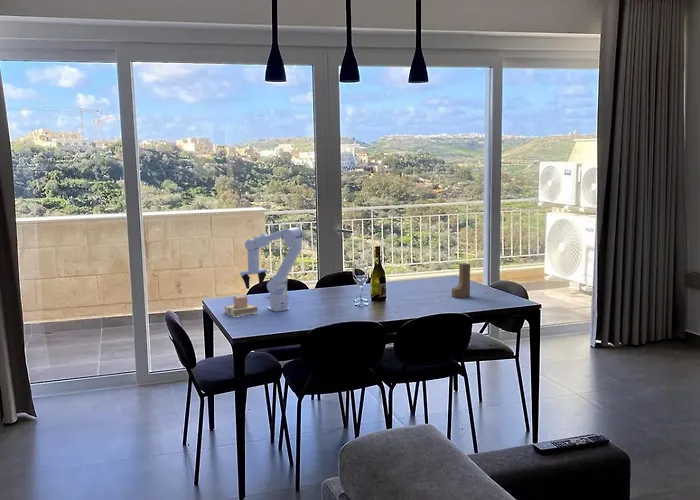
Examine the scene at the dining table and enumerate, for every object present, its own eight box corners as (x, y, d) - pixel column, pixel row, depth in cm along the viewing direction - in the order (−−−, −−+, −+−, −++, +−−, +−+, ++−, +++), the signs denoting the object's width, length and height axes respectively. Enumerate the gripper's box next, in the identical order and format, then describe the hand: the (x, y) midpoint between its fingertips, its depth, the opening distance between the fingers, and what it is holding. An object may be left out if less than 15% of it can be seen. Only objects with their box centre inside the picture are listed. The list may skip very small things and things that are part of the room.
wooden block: (455, 298, 364) (455, 265, 361) (451, 296, 368) (451, 264, 365) (470, 296, 367) (470, 264, 364) (466, 295, 371) (466, 262, 368)
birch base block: (257, 314, 336) (257, 307, 335) (235, 318, 329) (235, 310, 328) (246, 310, 345) (246, 302, 345) (225, 313, 339) (224, 306, 338)
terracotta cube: (247, 306, 336) (247, 296, 335) (238, 308, 333) (238, 298, 332) (242, 304, 340) (242, 295, 339) (233, 306, 337) (233, 296, 336)
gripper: (262, 259, 356) (262, 284, 358) (237, 262, 347) (238, 288, 349) (268, 261, 350) (269, 286, 352) (243, 264, 342) (244, 290, 344)
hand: (254, 287), depth 350 cm, fingers open, 7 cm apart
